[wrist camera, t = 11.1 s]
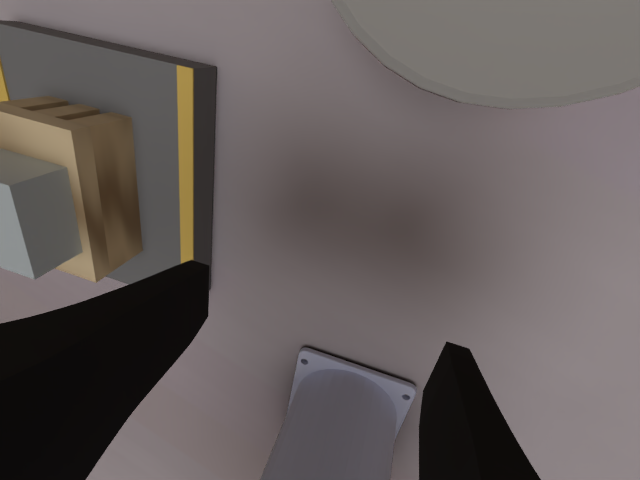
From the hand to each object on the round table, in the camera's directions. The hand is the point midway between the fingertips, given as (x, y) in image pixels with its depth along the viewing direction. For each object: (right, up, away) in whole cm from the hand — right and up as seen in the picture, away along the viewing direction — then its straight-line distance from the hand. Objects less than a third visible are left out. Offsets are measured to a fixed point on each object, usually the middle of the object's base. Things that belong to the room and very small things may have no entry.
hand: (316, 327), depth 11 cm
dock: (-12, +7, +12) cm, 18 cm away
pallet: (-12, +6, +10) cm, 17 cm away
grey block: (-13, +4, +7) cm, 16 cm away
